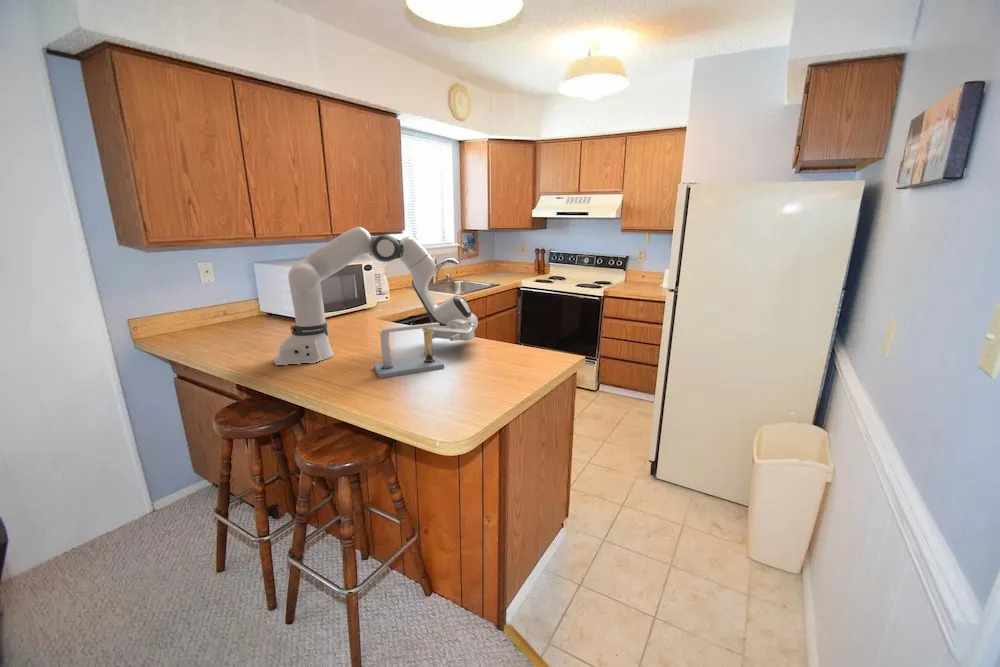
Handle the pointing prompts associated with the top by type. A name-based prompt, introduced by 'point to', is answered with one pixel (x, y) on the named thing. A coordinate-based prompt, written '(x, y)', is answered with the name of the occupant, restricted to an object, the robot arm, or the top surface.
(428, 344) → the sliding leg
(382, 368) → the bolt plate
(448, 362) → the top surface
